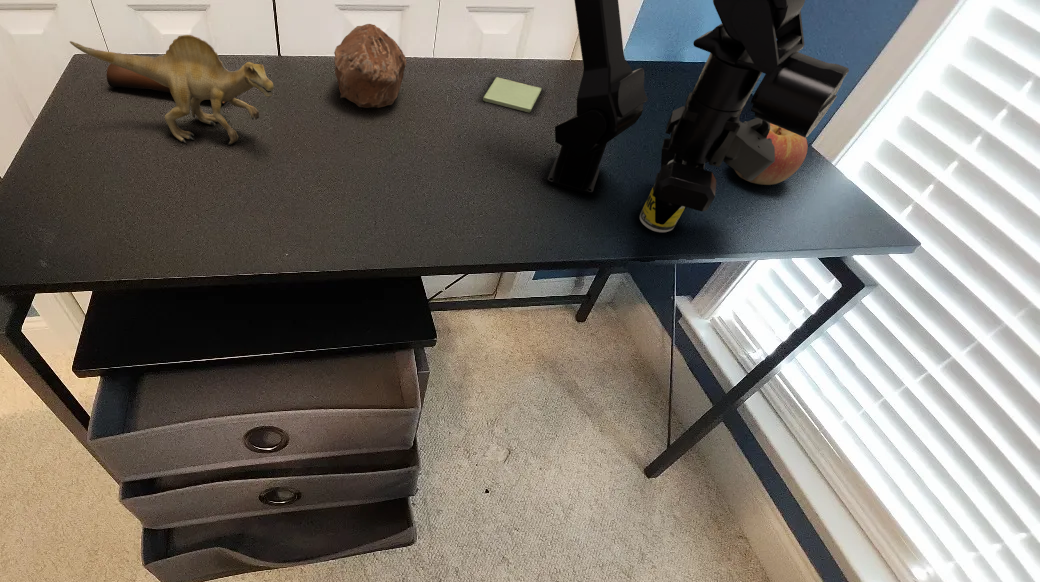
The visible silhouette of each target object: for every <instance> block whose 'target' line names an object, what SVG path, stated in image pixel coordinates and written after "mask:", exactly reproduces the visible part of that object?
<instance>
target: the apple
mask: <svg viewBox="0 0 1040 582" xmlns="http://www.w3.org/2000/svg"><path fill="white" fill-rule="evenodd" d="M768 138H771V139H772V144H773V145H774V147H775V162H774V163H772V164H771V165H770V166H769V167H768V168H766V169H765V170H764V171H763V172H762V173H760V174H759V175H758V176H757V177H756V178H755V179H753V180H752V181H748V180H746V179H744V178H743V175H742V174H740V173H739V172H737V171H736V170H735V169H733V170H734V172H735V174H736V175H737V176H738V177H739V178H741V179H743V180H744V181H747V183H752V184H755V185H762V186H763V185H764V186H771V185H777V184H779V183H782V182H784V181H786V180H788V179H789V178H790V177H792V176H793V175H794V174H795V173H797V171H798V170H799V169H800V168H801V166H802V165H803V163H804V161H805V160H806V157H807V154H808V149H809V148H808V140H807V137H806V138H805V137H802V136H800V135H798V134H795V133H793V132H790V131H788V130H786V129H783V128H781V127H779V126H776V125H774V124H771V123H770V131H769V134H768V136H767V139H768Z"/></svg>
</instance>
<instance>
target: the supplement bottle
mask: <svg viewBox="0 0 1040 582" xmlns="http://www.w3.org/2000/svg"><path fill="white" fill-rule="evenodd" d="M673 161H674V160H671V161H669V162H668V164H669V163H671V162H673ZM654 186H655V183H653V186H652V188H651V190H650V192H649V194H648V196H647V198H646V201H645V203H644V205H643V207H642V209H641V211H640V213H639V220H640V222H641V224H642V225H643V226H644V227H645V228H647V229H649V230H650V231H653V232H656V233H667V232H671V231H673V230H674V228H675V227H676V225H677V223H678V221H679V219H680V217H681V216H682V214H683V212H684V211H685V208H686V207H684V206H681V207H680V208H679V209H678V210H677V211H676V212H675V213H674V214H673V215H672V216H671V217H670V219H669V220H668V221H667V222H666V223H665V224H663V225H661V224H658V223H656V222H655V197H654V196H653V191H654Z"/></svg>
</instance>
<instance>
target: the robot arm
mask: <svg viewBox="0 0 1040 582" xmlns="http://www.w3.org/2000/svg"><path fill="white" fill-rule="evenodd" d="M805 2H806V0H712V3H713V6H714V9H715V11H716V12H717V15H718V18H719V20H720V22H721V23H720V24H718V25H717V26H715V27H714V28H713V29H712V30H709V31H707V32H705V33H704V34H702V35H701V36H699V37H697V38H696V39H695V40H694V41H693V42H692V43H693V47H695V48H697V49H700V50H702V51H705V52H708V53H709V55H708V57H707V59H706V61H705V63H704V66H703V68H702V70H701V72H700V75H699V77H698V78H697V81H696V84H695V85H694V88H693V90H692V92H691V91H690V92H689V93H688V95H687V97H686V99H685V103H684V105H682V106H680V107H678V108H677V109H676V108H675V109H674V110H672V112H671V114H670V117H669V119H668V122H667V124H666V128H665V134H667V135H670V137H665V138H664V139H663V142H662V146H661V157H660V170H659V172H656V175H655V181H654V184H655V186H654V185H653V186H654V191H653V196H654V197H655V222H656V223H658V224H661V225H663V224H665V223H666V222H667V221H668V220H669V219H670V217H671V216H672V215H673V214H674V213H675V212H676V211H677V210H678V209H679V208H680V207H681V206H684V207H685V208H688V209H692V210H695V211H698V212H706V211H708V210H709V208H710V206H711V204H712V203H713V201H714V199H715V197H716V190H717V179H716V177H715V175H714V174H713V173H714V172H713V171H711V170H706V169H705V165H706V164H707V163H708V165H709V166H713V167H717V168H720V167H721V165H722V163H723V162H724V164H726V165H727V166H728V167H730V168H732V170H734V169H735V170H736V171H737V172H739V173H740V174H742V175H743V178H744V179H746V180H748V181H752V180H753V179H755V178H756V177H757V176H758V175H759V174H760V173H762V172H763V171H764V170H765V169H766V168H768V167H769V166H770V165H771V164H772V163H774V162H775V147H774V145H773V144H772V139H771V138H768V139H767V136H768V134H769V131H770V123H771V124H774V125H776V126H779V127H781V128H783V129H786V130H788V131H790V132H793V133H795V134H798V135H800V136H802V137H805V138H806V139H807V138H808V137H809V136H810V134H811V133H812V132H813V131H814V130H815V129H816V127H817V126H818V125H819V124H820V122H821V121H822V119H823V118H824V117H825V115H826V114H827V112H828V111H829V110H830V109H831V107H832V105H833V103H834V102H835V101H836V99H837V98H838V95H837V93H838V92H839V90H840V89H841V87H842V85H843V81H844V80H845V78H846V76H847V75H848V73H849V72H850V69H849V67H846V66H844V65H841V64H837V63H831V62H826V61H823V60H820V59H817V58H815V57H812V56H810V55H806V54H804V53H801V52H800V51H801V50H803V48H804V47H805V37H804V28H803V19H802V9H803V7H804V5H805ZM619 7H620V4H619V0H574V8H575V15H576V16H575V17H576V23H577V29H578V30H577V31H578V38H579V45H580V52H581V53H580V54H581V59H582V61H581V62H582V65H583V66H582V75H581V79H580V83H579V87H578V91H577V94H576V113H575V114H574V115H572V116H570V117H569V118H566V120H563V121H562V122H561V123H559V124H557V125H556V126H555V128H554V135H555V136H554V141H555V143H556V144H558V145H560V146H561V147H560V150H559V153H558V156H557V157H556V158H555V159H554V162H553V164H552V167H551V169H550V171H549V174H548V177H547V178H546V182H547V184H550V185H553V186H558V187H560V188H565V189H567V190H571V191H575V192H579V193H582V194H585V195H592V194H593V192H594V189H595V186H596V182H597V180H598V176H599V174H600V168H599V166H600V163H601V161H602V158H603V156H604V153H605V150H606V147H607V145H608V143H609V142H611V141H612V140H614V139H615V138H616V137H617V136H619V135H621V134H622V133H623V132H625V131H627V130H628V129H629V128H631V127H632V126H634V125H635V124H636V123H637V122H638V120H639V119H640V117H641V116H642V114H643V112H644V104H645V103H646V102H648V101H649V99H648V96H647V94H646V91H645V70H644V68H643V67H640V68H637V69H634V70H633V69H632V67H631V66H630V64H629V63H628V61H627V59H626V56H625V53H624V45H623V44H624V43H623V34H622V25H621V13H620V8H619ZM762 74H765V75H764V76H763V77H762V80H761V81H760V82H759V79H760V78H761V76H762ZM758 82H759V85H757V83H758ZM756 86H757V88H756V90H755V91H754V89H755V87H756ZM753 91H754V93H753ZM752 93H753V95H752V98H751V100H750V104H752V106H751V108H750V112H752V113H754V118H753V119H750V120H748V121H746V120H745V121H743V122H742V121H741V120H740V117H741V113H742V111H743V110H744V107H745V106H746V104H747V102H748V100H749V99H750V96H751V94H752ZM671 160H674V161H673V162H671V163H669V164H668V162H669V161H671ZM735 170H734V171H735ZM744 179H743V180H744ZM746 180H745V181H746ZM748 181H747V182H748Z"/></svg>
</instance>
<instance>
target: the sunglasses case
mask: <svg viewBox="0 0 1040 582" xmlns="http://www.w3.org/2000/svg"><path fill="white" fill-rule="evenodd" d="M106 81H107V85H108V86H109V87H110V88H113V87H120V88H131V89H140V90H142V89H144V90H146V89H147V90H149V89H150V90H152V91H159V92H163V93H170V94H171V92H170V88H169V87H166V86H163V85H161V84H160V83H158V82H156V81H154V80H152V79H150V78H148V77H145V76H143V75H140V74H138V73H135V72H133V71H131V70H127V69H124V68H122V67H119V66H116V65H114V64H111V63H109V65H108V66H107V68H106ZM225 103H226V102H223V101H222V102H221V104H224V105H225Z"/></svg>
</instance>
